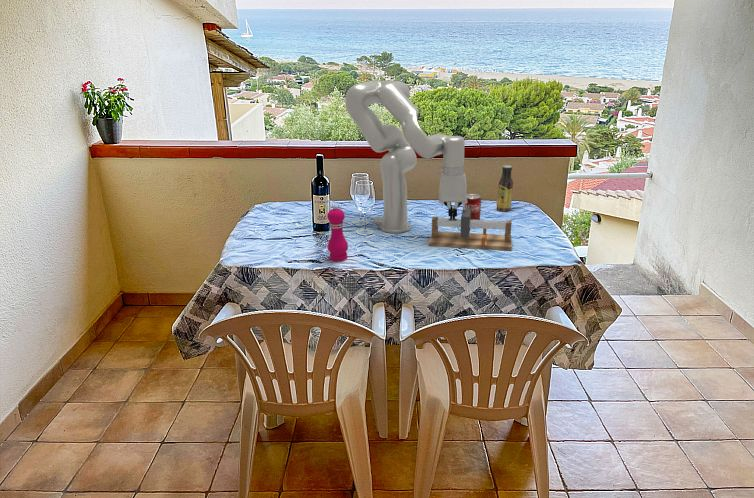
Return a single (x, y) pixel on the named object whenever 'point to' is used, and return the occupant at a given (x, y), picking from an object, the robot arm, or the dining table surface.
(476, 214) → the soda can
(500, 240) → the pipe stand
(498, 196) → the sauce bottle
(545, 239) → the dining table surface
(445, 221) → the white long bar
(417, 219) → the dining table surface
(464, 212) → the collar
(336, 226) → the pepper mill
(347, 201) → the dining table surface
